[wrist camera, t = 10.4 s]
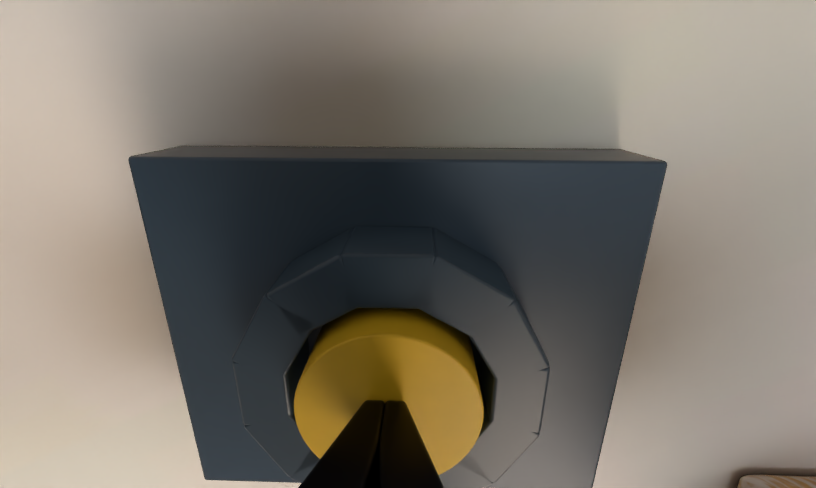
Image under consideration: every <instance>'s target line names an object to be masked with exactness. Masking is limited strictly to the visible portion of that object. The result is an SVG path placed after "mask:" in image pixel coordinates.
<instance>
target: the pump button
mask: <svg viewBox="0 0 816 488" xmlns="http://www.w3.org/2000/svg"><path fill="white" fill-rule="evenodd" d="M366 400H382V401H384V403H386V402H387V401H404V402H405V403H406V404H407V407H408V409H409V411H410V413H411V415H412V418H413V420H414V422H415V424H416V426H417V429H418V431H419V433H420V435H421V438H422V440H423V442H424V444H425V446H426V449H427V451H428V453H429V455H430V458H431V460H432V462H433V464H434V466H435V469H436V471H437V473H438V475H440V474H442V473H444V472H446V471H447V470H449V469H451V468H452V467H454V466H455V465H456V464H458V463H459V462H460V461H461V460H462V459H463V458H464V457H465V456H466V455H467V454H468V453H469V452H470V450H471V449H472V448H473V446H474V444H475V443H476V441H477V439H478V437H479V434H480V431H481V428H482V424H483V418H484V406H483V400H482V395H481V390H480V385H479V380H478V375H477V370H476V366H475V361H474V356H473V351H472V346H471V342H470V339H469V336H468V335H466V334H465V333H463V332H461V331H459V330H457V329H455V328H453V327H451V326H449V325H448V324H446V323H444V322H442V321H440V320H438V319H436V318H434V317H433V316H431V315H429V314H427V313H425V312H423V311H421V310H419V309H397V308H356V309H354V310H352V311H350V312H348V313H347V314H345V315H343V316H341V317H339V318H337V319H335V320H333V321H331V322H329V323H327V324H325V325H323V326H322V328H321V330H320V333H319V335H318V337H317V340H316V342H315V344H314V347H313V349H312V351H311V354H310V356H309V359H308V361H307V363H306V366H305V368H304V370H303V373H302V375H301V377H300V380H299V382H298V385H297V388H296V391H295V397H294V415H295V420H296V424H297V427H298V429H299V432H300V434H301V436H302V438H303V440H304V441H305V443H306V444H307V445H308V447H309V448H310V449H311V451H312V452H313V453H314V454H315V455H316V456H317V457H318V458H319V459H321V457H322V456H323V455H324V454H325V452H326V451H327V450H328V448H329V447H330V446H331V444H332V443H333V442H334V440H335V439H336V438H337V437H338V435H339V434H340V433H341V431H342V430H343V429H344V427H345V426H346V425H347V423H348V422H349V421H350V420H351V418H352V417H353V416H354V414H355V413H356V412H357V410H358V409H359V408H360V406H361V405H362V404H363V403H364V402H365V401H366Z"/></svg>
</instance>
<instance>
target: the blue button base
mask: <svg viewBox="0 0 816 488" xmlns="http://www.w3.org/2000/svg"><path fill="white" fill-rule="evenodd" d="M129 164H130V168H131V172H132V176H133V181H134V185H135V189H136V193H137V197H138V201H139V206H140V210H141V214H142V218H143V222H144V227H145V231H146V235H147V239H148V243H149V247H150V252H151V256H152V260H153V264H154V268H155V273H156V277H157V281H158V285H159V289H160V293H161V298H162V302H163V306H164V310H165V314H166V319H167V323H168V327H169V331H170V335H171V339H172V344H173V348H174V352H175V356H176V360H177V365H178V369H179V373H180V377H181V381H182V385H183V390H184V394H185V398H186V402H187V406H188V411H189V415H190V419H191V423H192V427H193V431H194V436H195V440H196V444H197V448H198V452H199V457H200V461H201V465H202V469H203V473H204V477H205V479H206V480H227V481H261V482H295V483H302V482H303V481H304V480H305V478H306V477H307V476H308V474H309V473H310V472H311V471H312V469H313V468H314V467H315V465H316V464H317V463H318V461H319V460H320V459H319V458H318V457H317V456H316V455H315V454H314V453H313V452H312V451H311V449H310V448H309V447H308V445H307V444H306V443H305V441H304V440H303V438H302V436H301V434H300V432H299V429H298V427H297V424H296V420H295V415H294V397H295V391H296V388H297V385H298V382H299V380H300V377H301V375H302V373H303V370H304V368H305V366H306V363H307V361H308V359H309V356H310V354H311V351H312V349H313V347H314V344H315V342H316V340H317V337H318V335H319V333H320V330H321V328H322V326H323V325H325V324H327V323H329V322H331V321H333V320H335V319H337V318H339V317H341V316H343V315H345V314H347V313H348V312H350V311H352V310H354V309H356V308H397V309H419V310H421V311H423V312H425V313H427V314H429V315H431V316H433V317H434V318H436V319H438V320H440V321H442V322H444V323H446V324H448V325H449V326H451V327H453V328H455V329H457V330H459V331H461V332H463V333H465V334H466V335H468V336H469V339H470V342H471V346H472V351H473V356H474V361H475V366H476V370H477V375H478V380H479V385H480V390H481V395H482V400H483V406H484V418H483V424H482V428H481V431H480V434H479V437H478V439H477V441H476V443H475V444H474V446H473V448H472V449H471V450H470V452H469V453H468V454H467V455H466V456H465V457H464V458H463V459H462V460H461V461H460V462H459V463H458V464H456V465H455V466H454V467H452V468H451V469H449V470H447V471H446V472H444V473H442V474H440V475H439V478H440V480H441V482H442V484H443V486H444V488H592V487H593V482H594V478H595V474H596V469H597V465H598V461H599V456H600V452H601V448H602V443H603V439H604V435H605V430H606V426H607V422H608V418H609V413H610V409H611V405H612V400H613V396H614V392H615V387H616V383H617V379H618V374H619V370H620V366H621V362H622V357H623V353H624V349H625V344H626V340H627V336H628V331H629V327H630V323H631V318H632V314H633V310H634V305H635V301H636V297H637V293H638V288H639V284H640V280H641V275H642V271H643V267H644V262H645V258H646V254H647V249H648V245H649V241H650V237H651V232H652V228H653V224H654V219H655V215H656V211H657V206H658V202H659V198H660V193H661V189H662V185H663V180H664V176H665V172H666V168H667V163H666V162H665V161H662V160H659V159H655V158H651V157H647V156H643V155H640V154H636V153H632V152H628V151H625V150H621V149H534V148H415V147H296V146H178V147H173V148H168V149H164V150H159V151H154V152H149V153H144V154H139V155H135V156H131V157H129Z"/></svg>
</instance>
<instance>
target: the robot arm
mask: <svg viewBox="0 0 816 488" xmlns="http://www.w3.org/2000/svg"><path fill="white" fill-rule="evenodd" d="M299 488H444V486H443V484H442V482H441V480H440V478H439V475H438V473H437V471H436V469H435V466H434V464H433V462H432V460H431V458H430V455H429V453H428V451H427V449H426V446H425V444H424V442H423V440H422V438H421V435H420V433H419V431H418V429H417V426H416V424H415V422H414V420H413V418H412V415H411V413H410V411H409V409H408V407H407V404H406V403H405V402H404V401H387V402H386V403H384V401H382V400H366V401H365V402H364V403H363V404H362V405H361V406H360V408H359V409H358V410H357V412H356V413H355V414H354V416H353V417H352V418H351V420H350V421H349V422H348V423H347V425H346V426H345V427H344V429H343V430H342V431H341V433H340V434H339V435H338V437H337V438H336V439H335V440H334V442H333V443H332V444H331V446H330V447H329V448H328V450H327V451H326V452H325V454H324V455H323V456H322V457H321V459H320V460H319V461H318V463H317V464H316V465H315V467H314V468H313V469H312V471H311V472H310V473H309V474H308V476H307V477H306V478H305V480H304V481H303V482H302V484H301V485H300V486H299Z"/></svg>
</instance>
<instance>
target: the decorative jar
mask: <svg viewBox="0 0 816 488" xmlns="http://www.w3.org/2000/svg"><path fill="white" fill-rule="evenodd" d="M737 488H816V476H810V477H809V476H781V475H746V476H743V477H741V478H740V480H739V485H738V487H737Z"/></svg>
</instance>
